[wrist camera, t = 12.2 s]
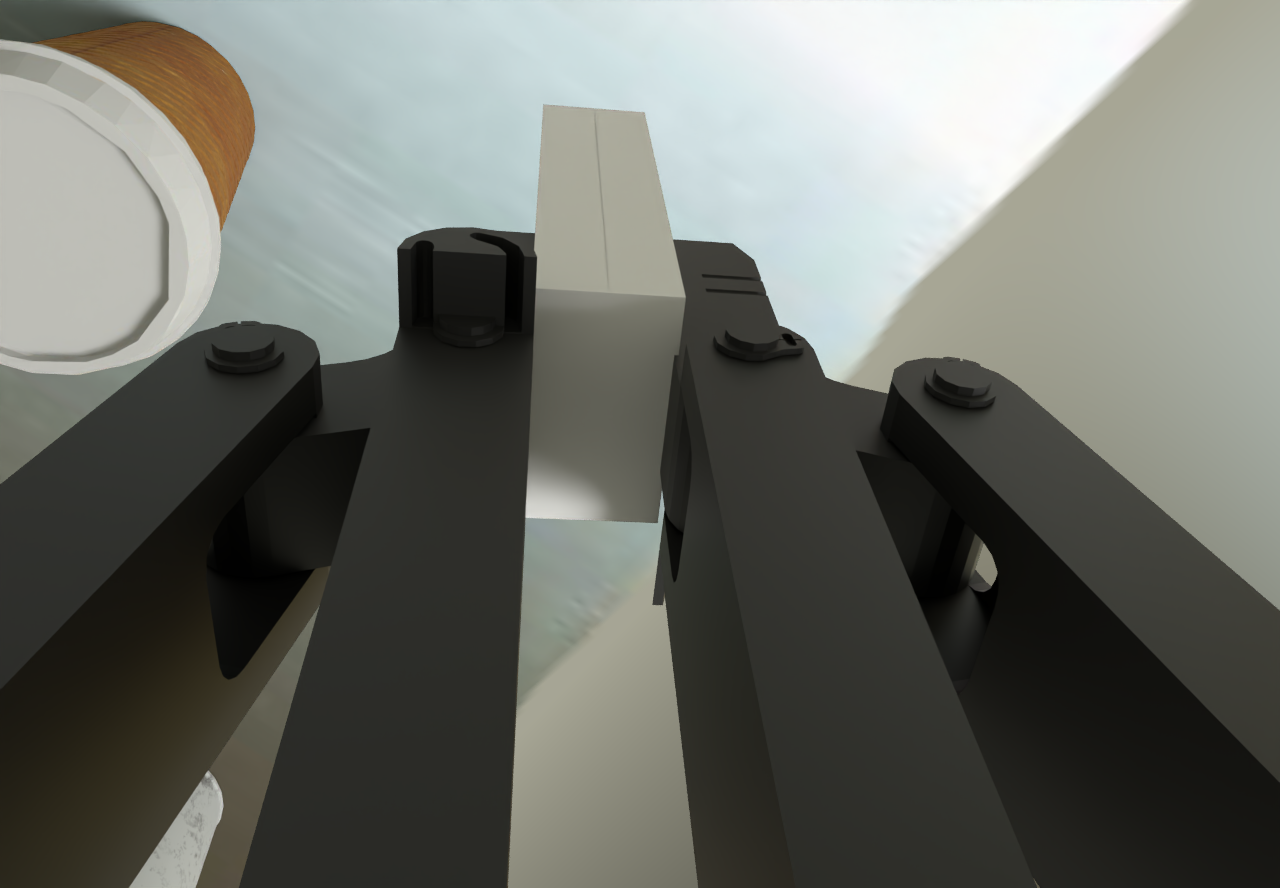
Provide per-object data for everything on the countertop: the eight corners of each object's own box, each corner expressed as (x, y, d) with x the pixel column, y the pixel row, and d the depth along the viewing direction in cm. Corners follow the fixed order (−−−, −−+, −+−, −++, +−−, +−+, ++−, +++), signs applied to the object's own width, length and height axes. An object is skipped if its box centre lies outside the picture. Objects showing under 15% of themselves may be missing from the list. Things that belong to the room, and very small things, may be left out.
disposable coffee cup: (211, 284, 43) (98, 446, 33) (-23, 120, 39) (-232, 247, 29) (353, 103, 39) (275, 222, 29) (111, -95, 36) (-73, -37, 26)
